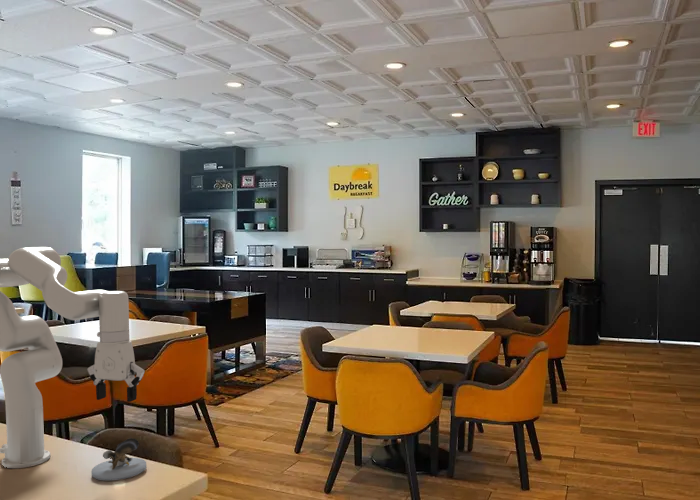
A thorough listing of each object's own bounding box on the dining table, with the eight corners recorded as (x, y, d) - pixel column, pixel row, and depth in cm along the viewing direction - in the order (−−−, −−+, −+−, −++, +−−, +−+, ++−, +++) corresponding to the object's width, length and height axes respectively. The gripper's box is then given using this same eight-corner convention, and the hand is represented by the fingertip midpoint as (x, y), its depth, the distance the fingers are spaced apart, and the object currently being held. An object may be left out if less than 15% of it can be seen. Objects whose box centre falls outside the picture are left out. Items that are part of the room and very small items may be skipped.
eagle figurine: (133, 465, 166) (145, 448, 175) (116, 445, 165) (130, 428, 174) (111, 479, 167) (125, 461, 176) (94, 459, 166) (109, 442, 175)
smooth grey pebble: (80, 480, 164) (79, 474, 164) (114, 461, 178) (113, 456, 178) (125, 484, 160) (125, 478, 160) (156, 465, 174) (156, 459, 174)
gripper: (78, 338, 167) (80, 401, 167) (133, 340, 162) (135, 405, 163) (97, 333, 174) (98, 394, 175) (150, 335, 169) (152, 397, 170)
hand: (116, 399), depth 169 cm, fingers open, 9 cm apart
